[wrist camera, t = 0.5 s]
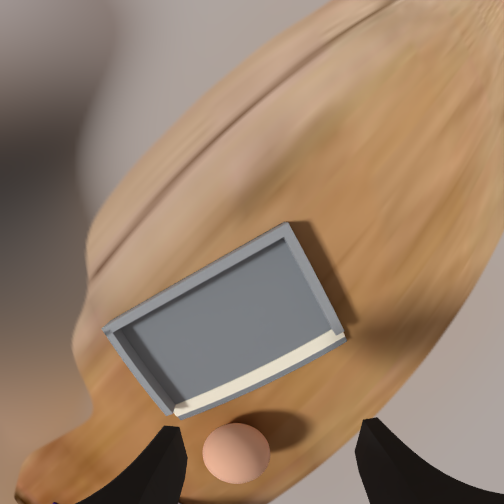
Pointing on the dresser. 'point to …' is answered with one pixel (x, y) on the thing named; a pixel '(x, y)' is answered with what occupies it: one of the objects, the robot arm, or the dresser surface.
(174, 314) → the grey shallow tray
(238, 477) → the ball
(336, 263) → the dresser surface
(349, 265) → the dresser surface
